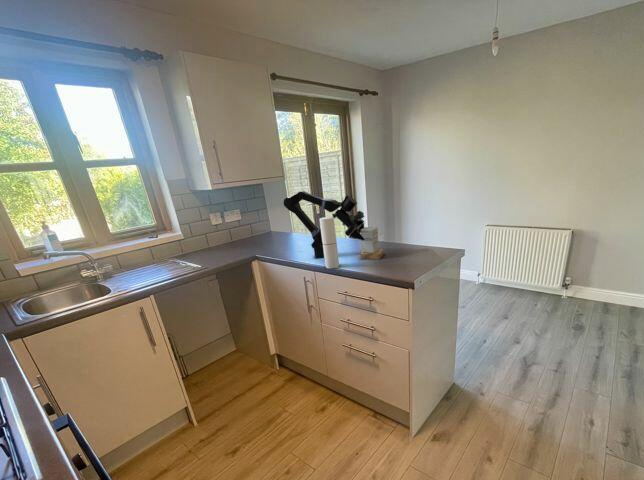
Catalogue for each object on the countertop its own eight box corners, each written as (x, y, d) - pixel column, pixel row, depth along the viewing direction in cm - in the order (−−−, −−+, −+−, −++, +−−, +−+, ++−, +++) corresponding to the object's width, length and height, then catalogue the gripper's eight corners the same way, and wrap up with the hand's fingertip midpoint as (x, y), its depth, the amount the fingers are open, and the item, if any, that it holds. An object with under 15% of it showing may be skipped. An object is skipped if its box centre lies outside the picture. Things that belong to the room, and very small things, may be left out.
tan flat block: (360, 259, 171) (360, 253, 170) (365, 254, 180) (365, 248, 179) (380, 259, 168) (379, 253, 167) (384, 253, 176) (383, 248, 175)
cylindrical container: (322, 267, 164) (316, 219, 154) (332, 263, 168) (326, 216, 158) (332, 269, 159) (326, 219, 149) (342, 265, 164) (336, 217, 154)
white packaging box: (361, 252, 172) (359, 229, 167) (367, 249, 178) (365, 226, 173) (373, 253, 169) (372, 229, 164) (379, 249, 175) (377, 226, 170)
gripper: (348, 209, 158) (371, 231, 159) (359, 204, 174) (379, 223, 175) (336, 225, 163) (357, 246, 164) (347, 219, 179) (367, 237, 180)
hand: (366, 237), depth 171 cm, fingers open, 9 cm apart
